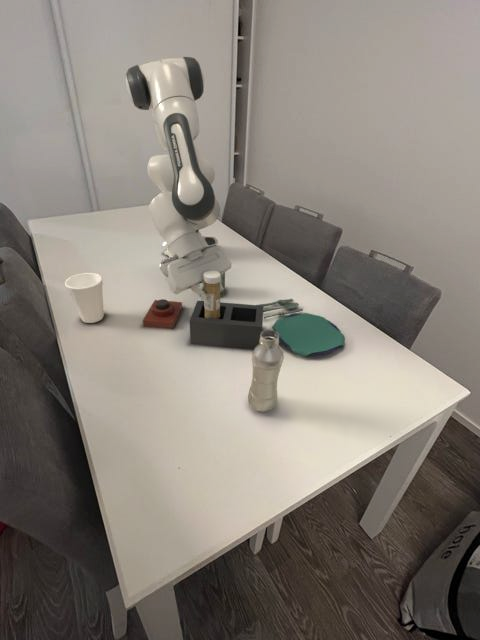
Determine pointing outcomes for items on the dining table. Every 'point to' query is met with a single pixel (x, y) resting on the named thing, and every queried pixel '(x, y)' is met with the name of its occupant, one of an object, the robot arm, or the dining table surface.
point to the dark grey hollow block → (227, 326)
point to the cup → (87, 295)
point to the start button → (162, 304)
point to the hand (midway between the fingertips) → (213, 295)
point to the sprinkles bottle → (212, 294)
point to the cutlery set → (305, 331)
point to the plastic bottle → (265, 371)
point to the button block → (163, 315)
